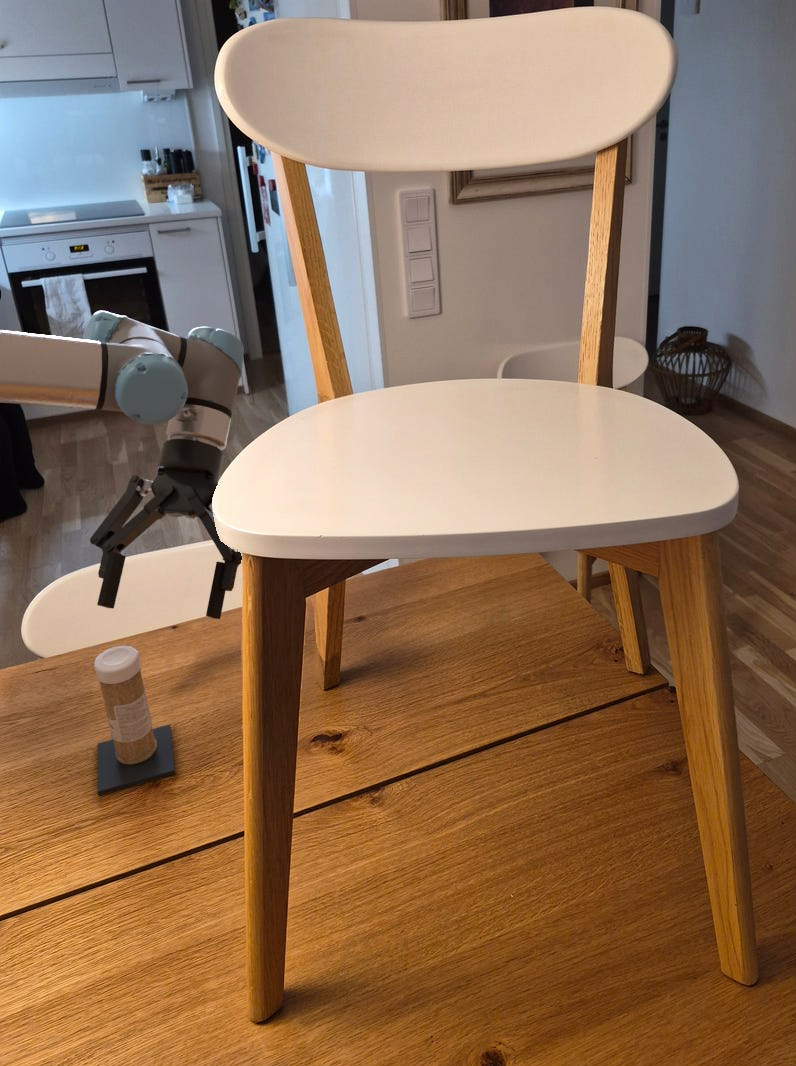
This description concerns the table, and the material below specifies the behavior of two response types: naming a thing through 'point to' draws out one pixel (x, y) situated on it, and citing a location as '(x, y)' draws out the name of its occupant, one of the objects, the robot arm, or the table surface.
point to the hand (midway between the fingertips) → (158, 612)
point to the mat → (128, 775)
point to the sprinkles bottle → (126, 704)
